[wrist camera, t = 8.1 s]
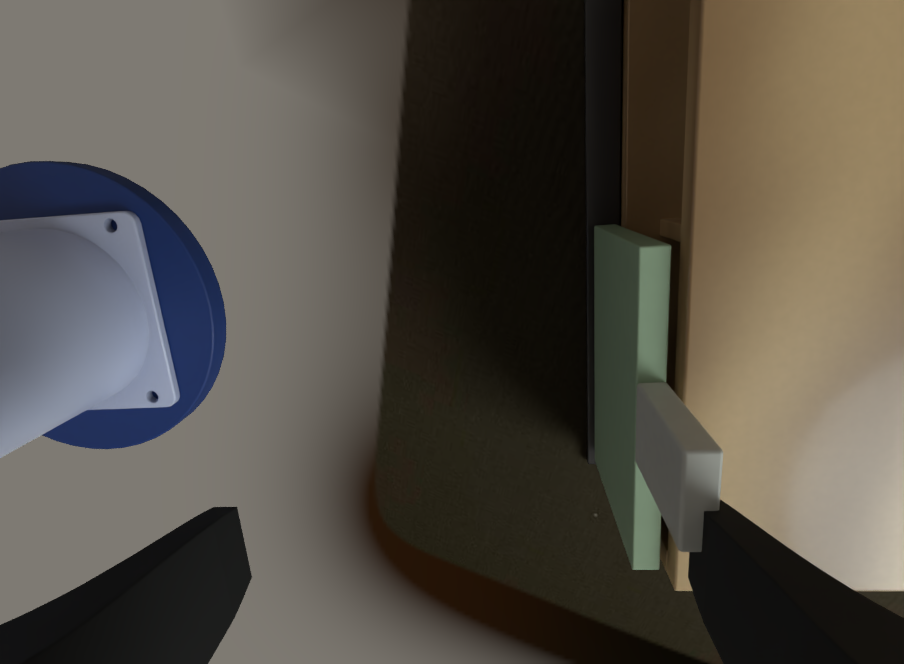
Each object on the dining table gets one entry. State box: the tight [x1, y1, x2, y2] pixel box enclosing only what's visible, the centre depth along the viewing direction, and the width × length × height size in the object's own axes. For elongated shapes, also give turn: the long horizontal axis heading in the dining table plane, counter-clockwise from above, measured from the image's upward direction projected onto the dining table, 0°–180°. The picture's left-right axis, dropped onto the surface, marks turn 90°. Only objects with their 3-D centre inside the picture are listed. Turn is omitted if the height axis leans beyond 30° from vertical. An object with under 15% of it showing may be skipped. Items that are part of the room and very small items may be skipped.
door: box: [594, 224, 723, 570], centre depth 16 cm, size 1×10×10 cm, turn 4°
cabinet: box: [584, 0, 904, 591], centre depth 16 cm, size 13×20×8 cm, turn 4°
